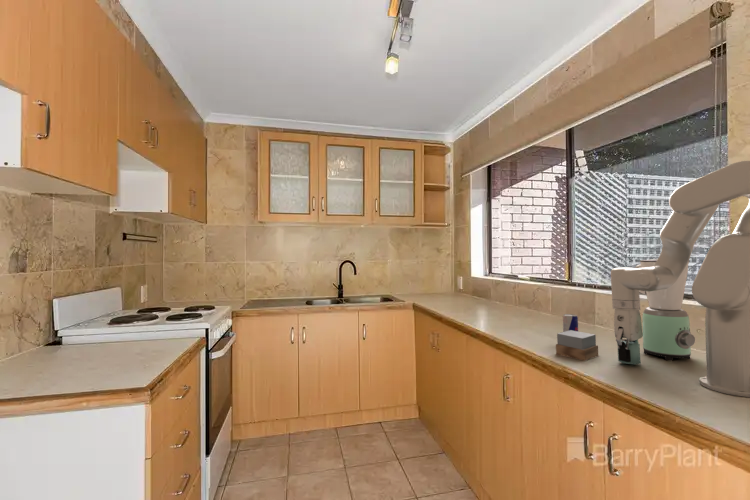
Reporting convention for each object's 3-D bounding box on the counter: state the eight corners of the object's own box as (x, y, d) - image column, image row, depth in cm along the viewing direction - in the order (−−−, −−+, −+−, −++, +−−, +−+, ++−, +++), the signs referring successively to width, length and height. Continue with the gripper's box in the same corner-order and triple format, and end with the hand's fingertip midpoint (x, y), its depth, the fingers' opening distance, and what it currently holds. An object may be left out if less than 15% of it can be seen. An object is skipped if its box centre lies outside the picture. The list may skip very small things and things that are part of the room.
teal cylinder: (643, 361, 114) (642, 343, 114) (636, 365, 110) (635, 346, 111) (622, 357, 119) (621, 340, 119) (615, 361, 115) (614, 343, 116)
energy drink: (580, 346, 137) (579, 316, 137) (566, 346, 138) (565, 316, 138) (575, 343, 142) (574, 314, 142) (561, 342, 143) (560, 313, 143)
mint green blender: (708, 361, 116) (704, 257, 117) (676, 364, 113) (673, 258, 114) (651, 346, 135) (649, 257, 135) (623, 349, 132) (621, 257, 132)
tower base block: (598, 356, 125) (598, 345, 125) (585, 362, 120) (584, 350, 120) (569, 350, 133) (569, 340, 133) (556, 355, 128) (555, 344, 128)
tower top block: (595, 345, 125) (595, 334, 125) (582, 349, 120) (582, 338, 120) (570, 340, 133) (570, 330, 133) (557, 344, 128) (557, 333, 128)
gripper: (628, 308, 107) (631, 367, 107) (649, 303, 117) (652, 356, 116) (601, 306, 114) (604, 361, 113) (623, 301, 123) (626, 352, 123)
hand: (629, 358), depth 115 cm, fingers closed on teal cylinder, 6 cm apart
